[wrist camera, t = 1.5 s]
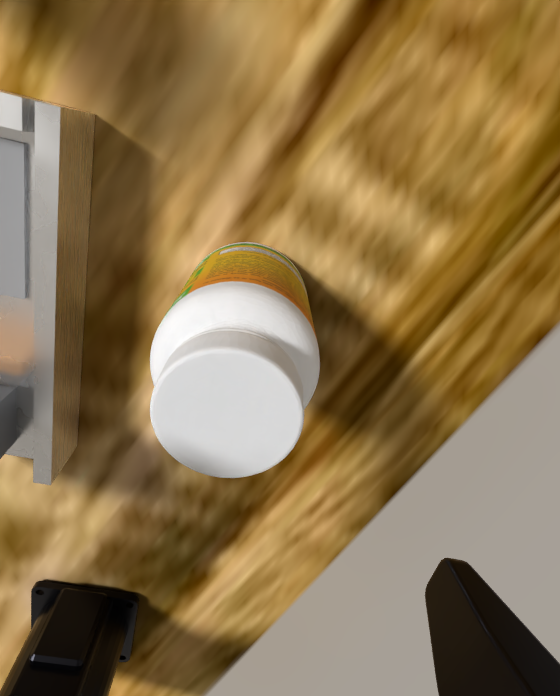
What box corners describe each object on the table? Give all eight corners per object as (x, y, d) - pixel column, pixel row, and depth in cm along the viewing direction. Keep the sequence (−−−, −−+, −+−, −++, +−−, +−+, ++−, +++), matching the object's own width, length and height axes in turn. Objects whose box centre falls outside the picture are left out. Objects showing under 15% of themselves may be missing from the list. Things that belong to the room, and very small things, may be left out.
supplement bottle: (195, 228, 19) (124, 301, 10) (318, 252, 19) (355, 341, 10) (183, 342, 21) (115, 485, 12) (293, 361, 21) (306, 511, 12)
